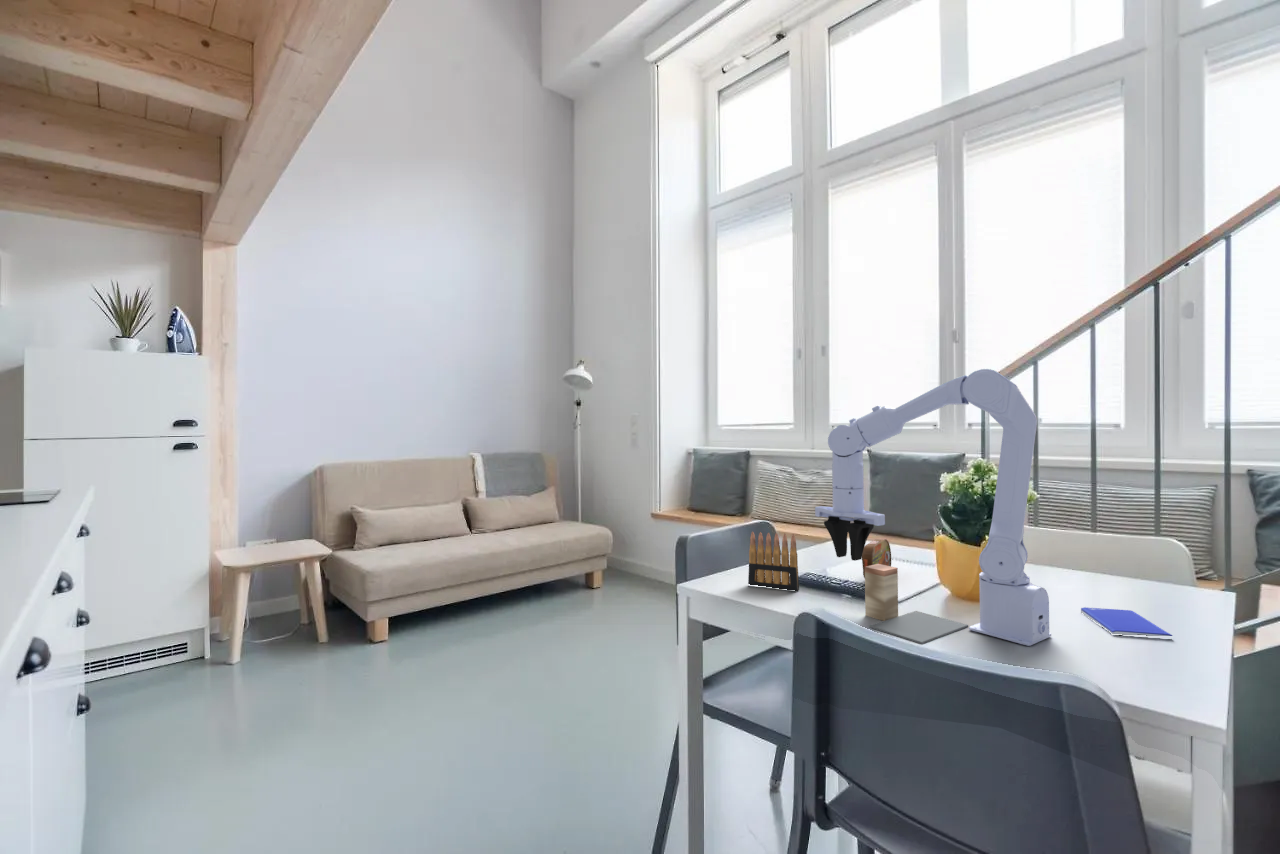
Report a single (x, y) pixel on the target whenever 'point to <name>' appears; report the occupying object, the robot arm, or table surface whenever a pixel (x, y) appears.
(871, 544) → the tin
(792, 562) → the ammunition clip
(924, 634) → the mat
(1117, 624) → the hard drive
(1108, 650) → the table surface
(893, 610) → the block
